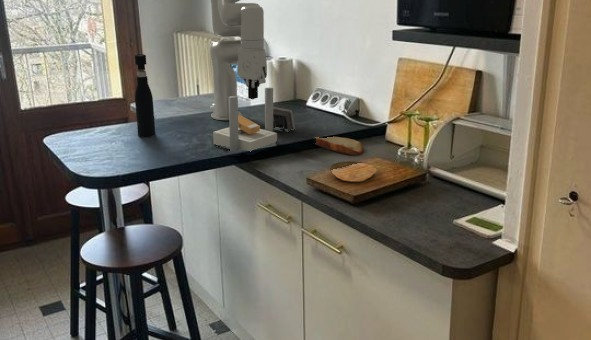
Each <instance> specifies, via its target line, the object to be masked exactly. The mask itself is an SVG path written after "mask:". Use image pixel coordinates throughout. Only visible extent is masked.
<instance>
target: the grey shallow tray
mask: <svg viewBox="0 0 591 340" xmlns="http://www.w3.org/2000/svg"><path fill="white" fill-rule="evenodd" d="M238 134H239V149H242V150H247V151H250V152H251V151H252V150H254V149H257V148H260V147H263V146H266V145H269V144H271V143H274V142H276V141H277V142H278V133H277V132H275V131H273V132H271V131H267V130H265V129H263V128H260V131H258V132H255V133H252V134H248V133H247V132H245V131H243V130H241V129H240V128H238ZM212 136H213V138H212V140H213V145H214V144H216V145H221V146H226V147H230V129H229V127H225V128H222V129H219V130H216V131H213V132H212Z"/></svg>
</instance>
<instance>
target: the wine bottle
mask: <svg viewBox="0 0 591 340" xmlns="http://www.w3.org/2000/svg"><path fill="white" fill-rule="evenodd" d="M134 62H135V63H134V64H135V65H136V66H137V72H136V75H137V76H136V84H137V85H136V88H135V91H134V92H135V93H134V104H135V115H136V125H137V128H136V129H137V136H138V137H139V138H151V137H155V136H156V123H155V121H156V120H155V111H154V99H153V93H152V90H151V88H150V85H149V81H148V76H147V71H146V65H147V54H142V53H139V54H135V55H134Z"/></svg>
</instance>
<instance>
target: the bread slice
mask: <svg viewBox="0 0 591 340" xmlns="http://www.w3.org/2000/svg"><path fill="white" fill-rule="evenodd" d="M314 137H315V136H314ZM315 138H316V143H315V144H314V145H317V146H319V147H321V148H324V149H326V150H328V151H332V152H334V153H339V154H343V155H347V156H348V155H349V156H361V155H362V154H364V153H365V149H364V147H363V144H362V143H361V142H360V141H358V140H356V139H354V138H353V139H351V138H349V137H339V136H333V137H327V138H319V137H315Z"/></svg>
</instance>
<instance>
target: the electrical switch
mask: <svg viewBox="0 0 591 340" xmlns="http://www.w3.org/2000/svg"><path fill="white" fill-rule="evenodd" d="M293 114H294V113H293V111H292V110H291V109H289V108H282V107H277V106H273V128H275V127H279V128H283V127H284V129H288V131H289V130H291V129H295V130H296V125H295V120H294V115H293Z"/></svg>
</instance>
